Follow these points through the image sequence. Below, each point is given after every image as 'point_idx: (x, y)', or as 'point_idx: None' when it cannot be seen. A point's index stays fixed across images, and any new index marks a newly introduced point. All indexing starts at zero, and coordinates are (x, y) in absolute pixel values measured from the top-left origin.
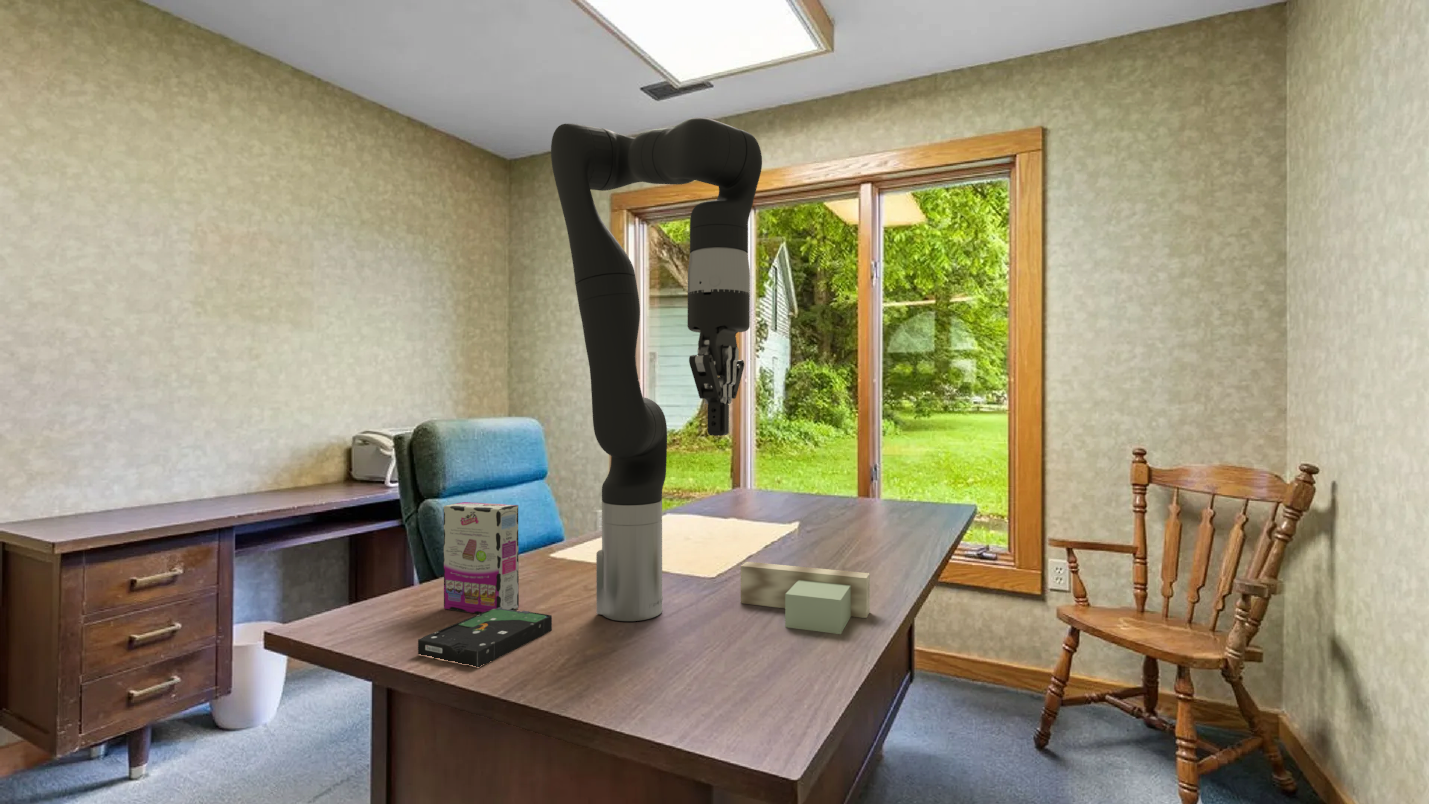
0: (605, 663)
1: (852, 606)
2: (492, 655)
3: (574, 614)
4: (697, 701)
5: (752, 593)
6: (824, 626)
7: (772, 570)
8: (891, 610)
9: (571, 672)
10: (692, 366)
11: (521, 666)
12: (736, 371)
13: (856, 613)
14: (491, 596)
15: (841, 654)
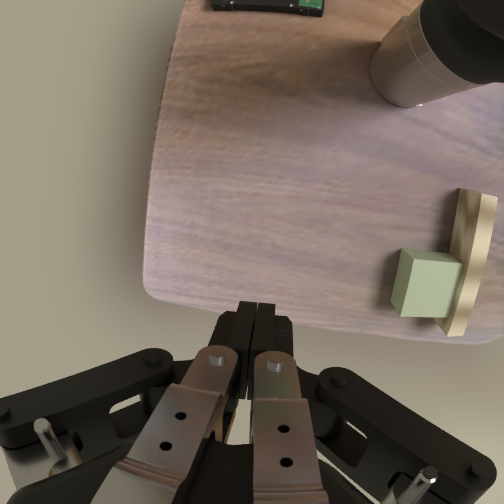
0: (259, 101)
1: None
2: (230, 8)
3: (372, 20)
4: (211, 211)
5: (463, 203)
6: (395, 288)
7: (474, 234)
8: None
9: (230, 82)
10: (14, 401)
11: (228, 37)
12: (382, 497)
13: None
14: None
15: (341, 307)
